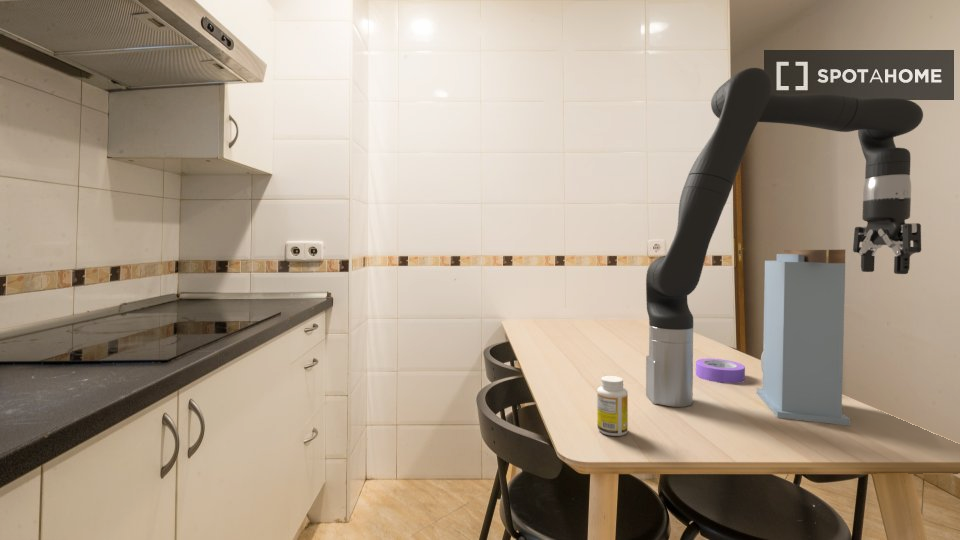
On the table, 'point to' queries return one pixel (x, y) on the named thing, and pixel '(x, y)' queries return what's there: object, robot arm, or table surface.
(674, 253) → the robot arm
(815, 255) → the brown wooden bar
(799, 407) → the pale blue pedestal
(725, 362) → the masking tape
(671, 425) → the table surface
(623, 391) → the supplement bottle
